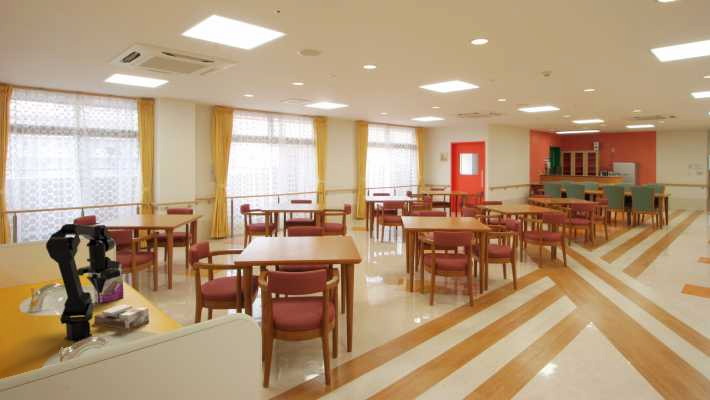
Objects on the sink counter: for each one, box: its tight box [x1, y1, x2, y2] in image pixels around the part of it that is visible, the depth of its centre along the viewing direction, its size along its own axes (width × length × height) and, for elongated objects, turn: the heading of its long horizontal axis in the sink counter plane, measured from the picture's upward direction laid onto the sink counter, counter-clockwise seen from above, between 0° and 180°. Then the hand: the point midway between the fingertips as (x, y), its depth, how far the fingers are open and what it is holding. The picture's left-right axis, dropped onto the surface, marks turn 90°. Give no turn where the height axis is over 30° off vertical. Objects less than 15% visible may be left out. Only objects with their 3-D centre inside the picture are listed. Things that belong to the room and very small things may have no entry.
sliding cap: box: [101, 303, 133, 318], centre depth 169 cm, size 9×6×4 cm, turn 156°
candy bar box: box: [93, 263, 124, 305], centre depth 197 cm, size 11×5×16 cm, turn 141°
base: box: [93, 306, 150, 331], centre depth 168 cm, size 9×20×6 cm, turn 66°
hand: (100, 292), depth 172 cm, fingers closed
